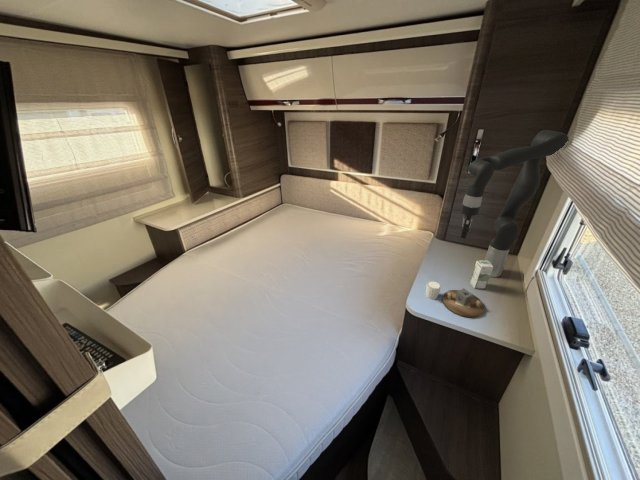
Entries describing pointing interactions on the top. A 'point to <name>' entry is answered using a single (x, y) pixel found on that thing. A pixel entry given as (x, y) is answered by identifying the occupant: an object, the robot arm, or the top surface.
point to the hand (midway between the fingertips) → (463, 234)
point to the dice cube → (463, 297)
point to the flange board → (468, 310)
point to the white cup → (432, 289)
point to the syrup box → (481, 274)
